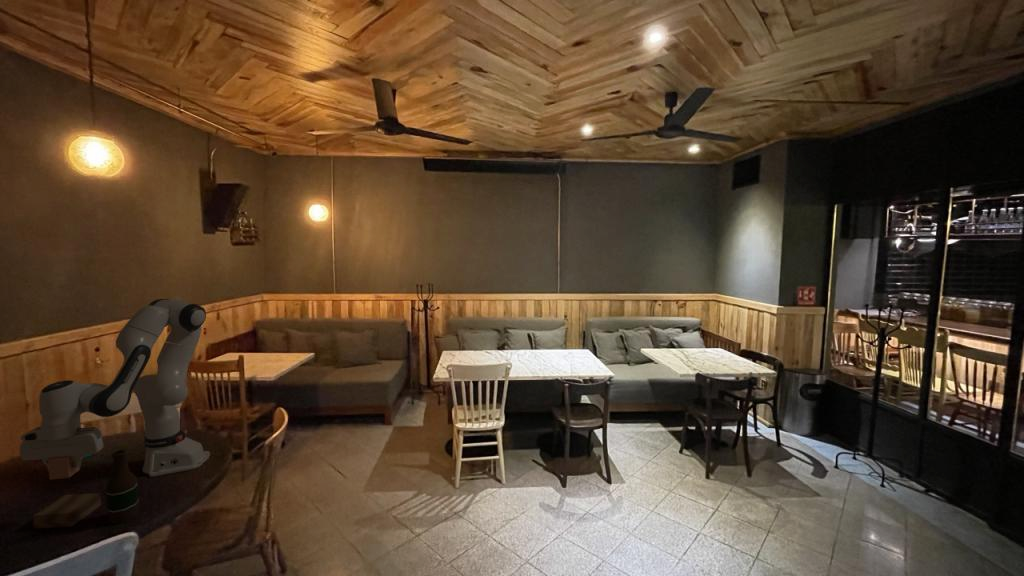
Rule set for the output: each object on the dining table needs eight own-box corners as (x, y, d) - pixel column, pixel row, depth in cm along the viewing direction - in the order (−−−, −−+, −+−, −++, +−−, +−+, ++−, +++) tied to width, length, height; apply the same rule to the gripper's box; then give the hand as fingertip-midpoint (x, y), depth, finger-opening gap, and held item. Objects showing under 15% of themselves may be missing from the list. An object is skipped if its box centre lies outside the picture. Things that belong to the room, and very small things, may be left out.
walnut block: (101, 505, 143) (100, 493, 142) (72, 527, 132) (71, 513, 132) (66, 507, 141) (65, 494, 141) (34, 529, 131) (32, 515, 130)
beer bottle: (122, 509, 141) (117, 446, 138) (145, 509, 141) (141, 446, 139) (101, 525, 133) (96, 458, 131) (126, 524, 134) (121, 457, 131)
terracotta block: (79, 469, 138) (78, 450, 137) (68, 477, 133) (67, 458, 133) (61, 471, 137) (59, 452, 136) (49, 479, 132) (48, 459, 131)
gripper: (106, 422, 140) (109, 459, 141) (30, 428, 133) (34, 466, 135) (93, 430, 134) (96, 469, 135) (13, 437, 128) (17, 477, 129)
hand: (64, 468), depth 135 cm, fingers closed on terracotta block, 5 cm apart
